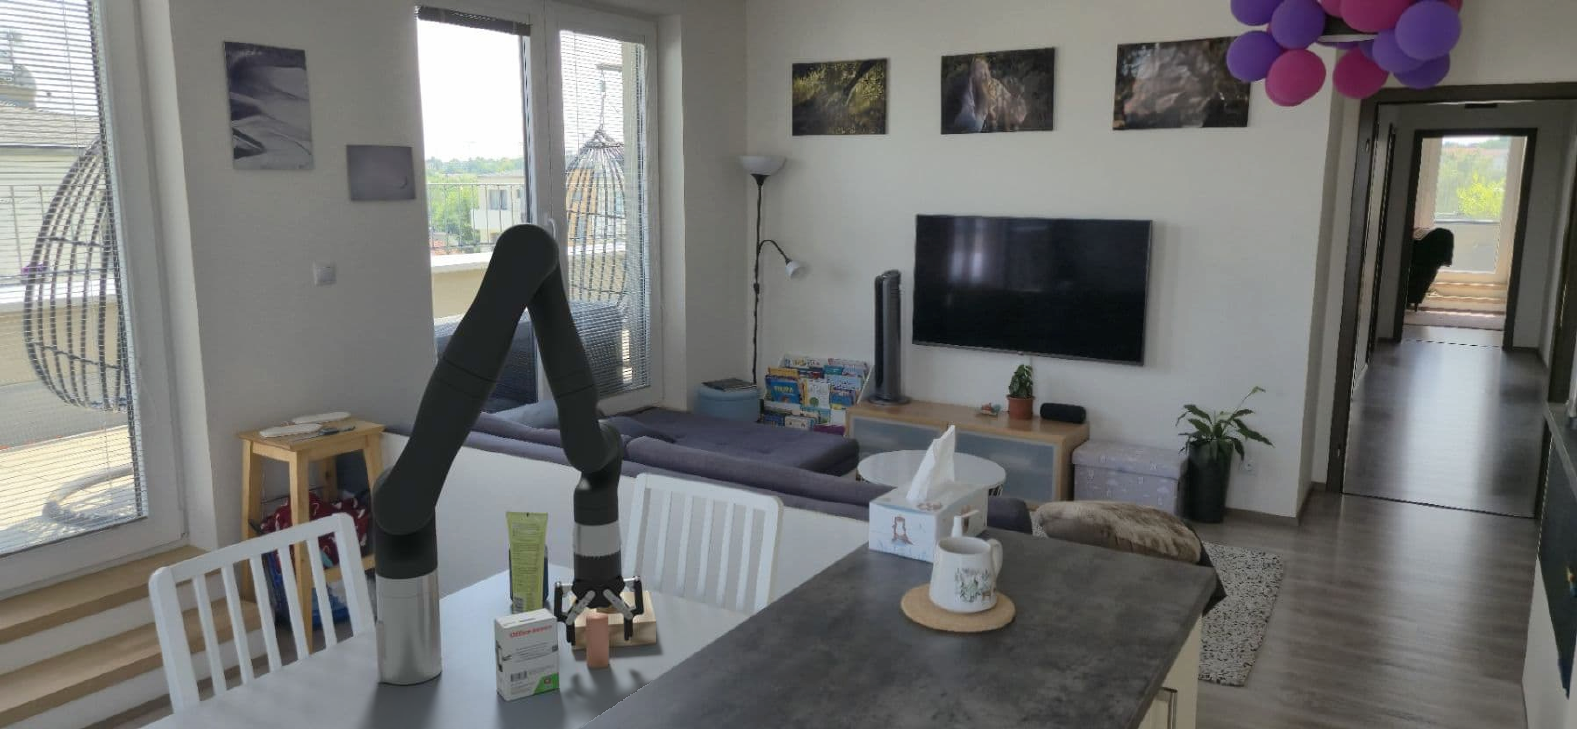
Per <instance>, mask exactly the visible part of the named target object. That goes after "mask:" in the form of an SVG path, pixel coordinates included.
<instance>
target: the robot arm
mask: <svg viewBox="0 0 1577 729" xmlns="http://www.w3.org/2000/svg"><path fill="white" fill-rule="evenodd" d="M564 286H565V285H564V282H563V274H562V268H561V263H560V249H559V245H558V242H557V240H556V239H555V237H554V236H553V234H552V233H551V232H550V231H548V230H547V229H545V228H544V227H542V226H540V225H538V224H535V223H532V222H531V223H530V222H519V223H516V224H515V223H514V224H512V225H511V226H509V227H508V228H506V229H504V231H503V232H502V233H500V234H499V237H498V238H497V240H496V242H495V245H494V249H493V251H492V254H491V257H490V259H489V263H488V265H487V268H486V271H485V273H484V276H483V278H482V280H481V284H480V286H479V288H478V290H477V292H476V294H475V297H474V298H473V301H472V302H471V304H470V306H469V308H468V309H467V311H466V313H465V314H464V315H463V317H462V318H461V320H460V322H459V323H458V324H457V326H456V328H455V330H454V331H453V334H452V335H451V337H450V339H449V340H448V343H447V344H446V346H445V348H444V350H443V351H442V353H441V355H440V357H439V359H438V361H437V363H436V365H435V367H434V369H433V372H432V373H431V375H430V377H429V380H428V382H427V384H426V387H425V389H424V392H423V394H422V397H421V401H420V404H419V405H418V406H419V408H418V410H417V414H416V416H415V421H414V423H413V426H412V430H411V433H410V436H409V438H408V440H407V442H406V444H405V445H404V448H403V450H402V452H401V453H400V455H399V456H398V458H397V460H396V462H395V463H394V465H391V466H390V467H387V468H386V469H384V470H383V471H382V472H381V473H380V474H379V475H378V476H377V478H376V479H375V481H374V484H373V487H372V490H371V500H370V501H371V512H372V516H373V517H372V518H373V544H374V545H373V550H374V552H373V553H374V554H373V555H374V571H375V587H376V588H375V589H376V590H375V592H376V610H377V620H376V623H375V642H376V643H375V645H376V664H377V666H376V667H377V682H378V683H388V684H392V685H397V686H399V685H403V686H404V685H415V684H420V683H424V682H427V681H430V680H431V679H434V678H435V677H437V676H438V675H439V674H441V672H442V669H443V667H442V666H443V665H442V664H443V663H442V662H443V661H442V660H443V655H442V637H441V612H440V611H441V610H440V586H439V566H438V564H439V563H438V562H439V559H438V555H439V554H438V538H437V536H438V535H437V520H436V519H437V518H436V515H437V514H436V507H437V503H438V501H439V499H440V496H441V493H442V490H443V487H444V484H445V482H446V480H447V477H448V474H449V472H450V469H451V467H452V466H453V463H454V461H455V459H456V456H458V453H459V451H460V450H461V448H462V446H463V445H464V443H465V442H466V440H467V438H468V437H469V435H470V434H471V432H472V430H473V428H474V427H475V424H476V423H477V421H478V420H479V418H480V416H481V414H482V412H483V410H484V408H485V407H486V405H487V403H488V402H489V400H490V398H491V396H492V394H493V392H494V390H495V389H496V386H497V384H498V381H499V379H500V378H501V376H502V374H503V370H504V368H505V365H506V363H507V360H508V357H509V353H510V352H511V348H512V344H513V341H514V337H515V334H516V331H517V328H518V325H519V322H520V321H521V318H522V317H523V314H524V312H525V310H526V309H527V312H528V315H529V317H530V320H531V323H532V328H533V331H534V335H535V339H536V342H537V347H538V352H539V356H540V360H541V364H542V368H543V372H544V374H545V378H546V380H547V383H548V386H549V389H550V392H551V395H552V397H553V400H554V403H555V405H556V410H557V420H558V421H557V422H558V429H559V436H560V442H561V446H562V447H561V448H562V450H563V452H564V455H565V457H566V459H567V461H568V463H569V464H570V465H571V466H572V467H573V468H574V469H575V470H577V471H578V472H580V477H579V481H578V482H577V484H576V486H575V488H574V491H573V496H572V498H573V503H572V504H573V528H572V529H573V530H572V550H573V552H572V553H573V554H572V555H573V580H572V582H571V583H569V582H568V583H562V582H561V581H559V580H558V581H556V582H554V584H553V585H554V587H553V588H554V590H553V592H554V593H553V594H554V595H553V615H554V616H555V617H557V623H563V624H564V625H565V638H566V642H567V643H568V644H570V646H571V647H572V646H576V644H575V619H576V618H577V617H578V615H580V614H581V613H582V611H583V610H584V609H585V607H587V608H589V609H595V608H598V607H601V608H609V606H611V605H612V604H613V605H614V606H615V608H616V609H617V610H618V611H620V612H621V613H622V614H623V626H624V640H625V641H629V637H632V635H633V618H634V617H635V616H637V615H642V614H643V613H644V605H643V593H642V591H643V585H642V579H641V577H640V575H639V574H634V575H633V577H631V578H624V577H623V574H622V573H623V572H622V537H621V536H622V534H621V526H620V518H619V494H618V493H619V492H618V490H619V484H620V479H621V473H622V465H623V458H624V443H623V439H622V435H621V432H620V430H619V428H618V427H617V425H615V424H614V423H612V422H611V421H609V420H606V419H599V414H598V412H597V407H598V404H599V401H600V399H601V394H600V389H599V386H598V383H597V381H596V380H597V379H596V377H595V375H594V371H593V367H592V366H591V363H590V360H589V357H588V354H587V352H586V349H585V347H584V343H583V341H582V339H581V337H580V333H579V331H578V328H577V326H576V323H575V320H574V318H573V315H572V311H571V309H570V306H569V303H568V302H569V301H568V298H567V295H566V290H565V287H564ZM625 587H627V588H628V589H629V592H634V599H635V605H634V606H631V607H629V606H628V604H627V603H626V602H625V601H624V599H623V598H622V597H621V596H620V594H621V592H624V590H625ZM570 592H572V594H573V595H575V596H576V597H577V598H576V599H575V601H574V602H573V604H572V606H571V607H570V609H568V610H567V611H563V599H565V598H566V597H568V593H570Z"/></svg>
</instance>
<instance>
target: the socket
mask: <svg viewBox="0 0 1577 729" xmlns="http://www.w3.org/2000/svg"><path fill="white" fill-rule="evenodd" d="M649 592H650V591H649V590H642V593H643V605H644V613H643V614H642V615H637V616H635V617H634V618H633V635H632V637H629V641H625V640H624V626H623V614H622V613H621V612H620V611H618V610H617V609H616V608H615V606H614V605H613V604H612V605H611V606H609V608H601V607H598V608H595V609H589V608H587V607H585V609H584V610H583V611H582V613H581V614H580V615H578V617H577V618H576V619H575V644H576V646H571V650H573V651H574V650H586V616H587V615H589V614H592V613H605V614H607V615H608V622H609V648H612V647H613V648H615V647H628V646H629V647H630V646H638V645H639V646H640V645H641V646H642V645H653V644H657V620H656V617H655V611H654V609H653V604H652V601H651V597H650V593H649ZM620 596H621V597H622V598H623V599H624V601H625V602H626V603H627V604H628V606H629V607H631V606H634V605H635V599H634V592H631V591H622V592H621V594H620ZM568 597H569V598H568V604H569V605H568V606H569V609H570V607H571V606H572V604H573V602H574V601H575V599H576V598H577V597H576V596H575V595H574V594H572V595H571V594H569V596H568ZM569 609H568V610H569Z"/></svg>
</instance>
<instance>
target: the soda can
mask: <svg viewBox="0 0 1577 729" xmlns="http://www.w3.org/2000/svg"><path fill="white" fill-rule="evenodd" d="M548 551H549V550H548V546H547V544H546V543H545V552H544V570H543V599H542V604H543V605H544V604H545V603H546V601H547V599H548V597H549V595H550V594H549V592H550V591H549V589H550V588H549V558H548V557H549V556H548V555H549V553H548ZM508 570H509V571H508V573H509V574H508V575H509V598H510V601H511V602H512V603H513V583H512V566H511V553H510V548H508Z"/></svg>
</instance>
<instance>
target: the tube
mask: <svg viewBox="0 0 1577 729" xmlns="http://www.w3.org/2000/svg"><path fill="white" fill-rule="evenodd" d="M505 518H506V522H507V530H508V540H509V549H510V553H511V566H512V583H513V602H512V603H513V606H512V607H513V615H515V614H520V613H525V612H530V611H535V610H539V609H543V605H542V599H543V570H544V552H545V544H546V538H547V527H548V520H549V512H531V511H529V512H527V511H511V510H510V511H509V510H506V511H505Z"/></svg>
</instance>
